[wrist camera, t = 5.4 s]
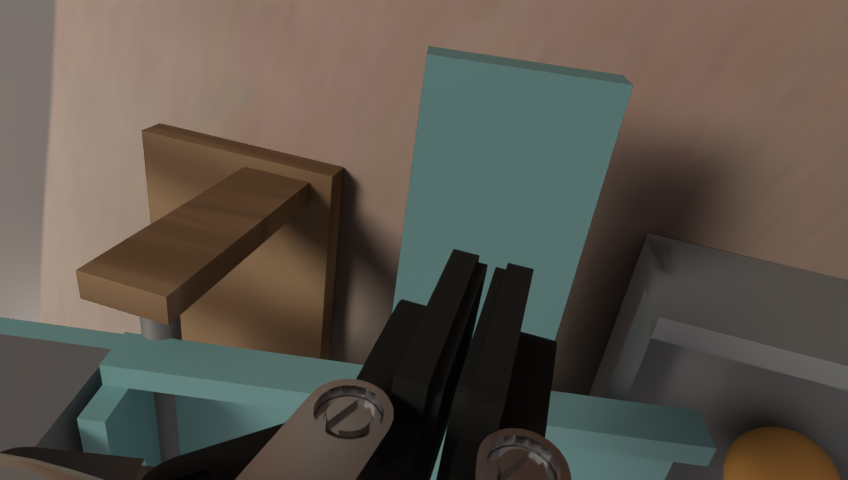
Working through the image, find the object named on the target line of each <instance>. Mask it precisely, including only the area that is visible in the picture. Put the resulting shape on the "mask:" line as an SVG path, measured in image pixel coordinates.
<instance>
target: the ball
mask: <svg viewBox="0 0 848 480" xmlns="http://www.w3.org/2000/svg"><path fill="white" fill-rule="evenodd" d="M723 479H724V480H841V479H840V476H839V473H838V470H837V468H836V466H835V464H834V463H833V461H832V460H831V458H830V457H829V456H828V454H827V453H826V452H825V451H824V450H823V449H822V448H821V447H820V446H819V445H818V444H816V443H815V442H814V441H813V440H811V439H810V438H808V437H806V436H805V435H803V434H801V433H798V432H796V431H793V430H790V429H786V428H781V427H761V428H756V429H753V430H750V431H748V432H746V433H744V434H743V435H741V436H740V437H738V438H737V439H736V440H735V441H734V442H733V443H732V445H731V446H730V448H729V449H728V451H727V453H726V456H725V459H724V463H723Z"/></svg>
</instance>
